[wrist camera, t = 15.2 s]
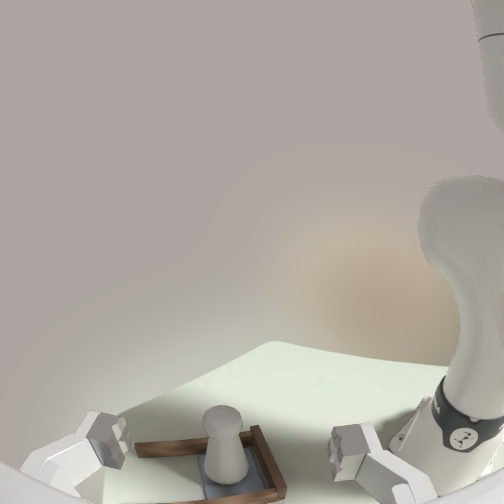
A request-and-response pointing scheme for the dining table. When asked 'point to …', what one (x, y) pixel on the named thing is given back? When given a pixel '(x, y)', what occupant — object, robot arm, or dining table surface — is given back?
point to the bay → (235, 496)
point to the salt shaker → (224, 446)
